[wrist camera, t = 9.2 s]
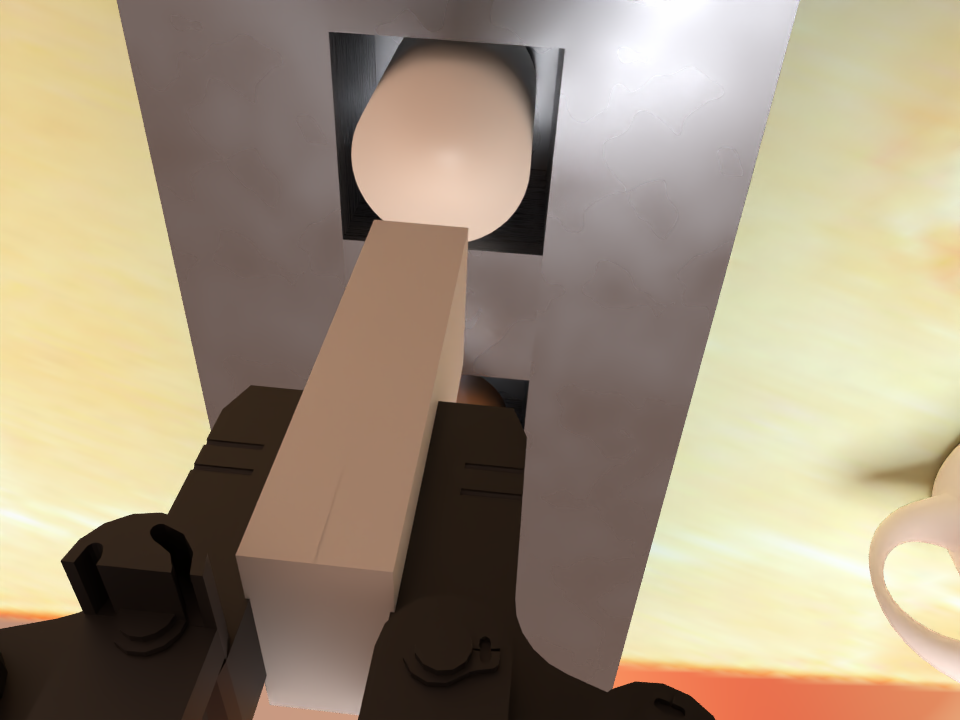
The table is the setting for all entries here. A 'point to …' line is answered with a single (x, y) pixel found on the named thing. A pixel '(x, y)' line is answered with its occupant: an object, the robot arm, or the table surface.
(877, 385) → the table surface
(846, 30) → the table surface
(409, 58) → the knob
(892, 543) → the mug
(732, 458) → the table surface
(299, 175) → the panel
